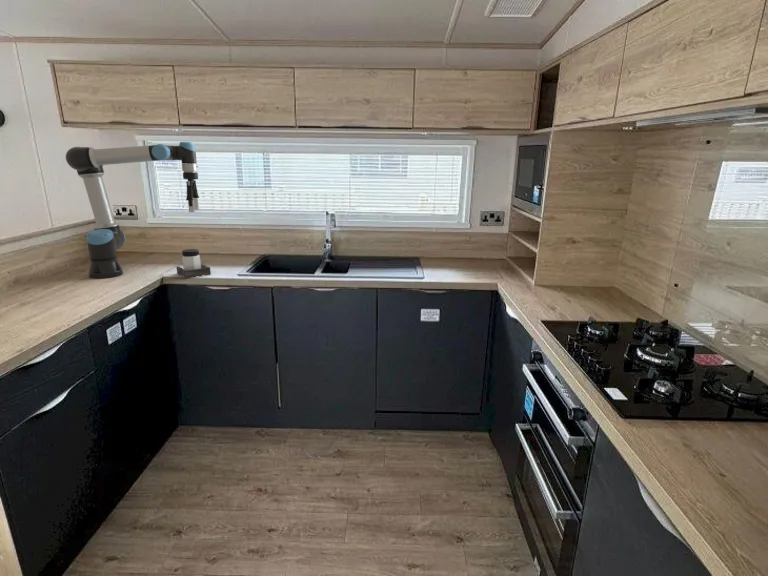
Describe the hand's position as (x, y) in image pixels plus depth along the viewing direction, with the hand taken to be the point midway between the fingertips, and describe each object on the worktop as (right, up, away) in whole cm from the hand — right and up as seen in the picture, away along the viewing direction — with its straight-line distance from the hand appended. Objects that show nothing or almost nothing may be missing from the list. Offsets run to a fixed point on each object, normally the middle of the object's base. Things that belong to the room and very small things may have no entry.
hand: (194, 211), depth 241 cm
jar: (+3, -35, -9) cm, 36 cm away
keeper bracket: (+4, -36, -9) cm, 37 cm away
